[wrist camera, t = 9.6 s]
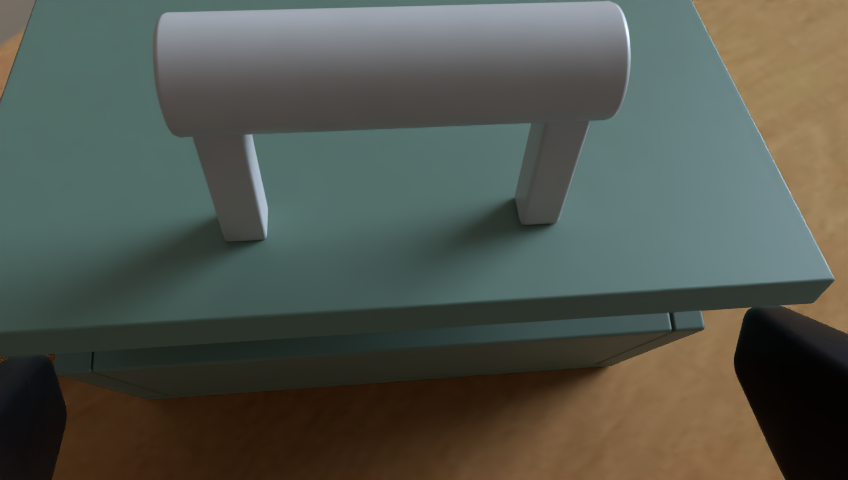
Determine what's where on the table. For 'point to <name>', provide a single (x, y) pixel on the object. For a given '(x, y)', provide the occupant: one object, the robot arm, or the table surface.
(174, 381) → the bin
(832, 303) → the table surface
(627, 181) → the bin lid
